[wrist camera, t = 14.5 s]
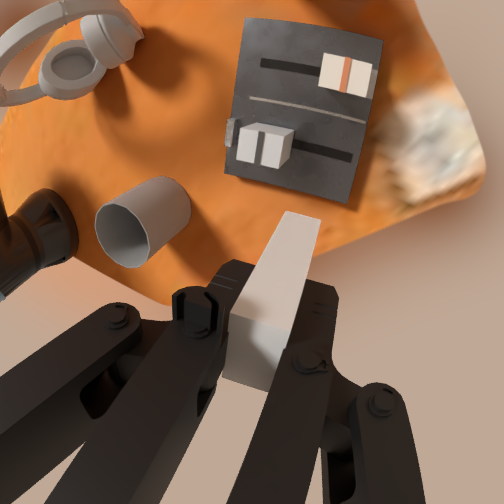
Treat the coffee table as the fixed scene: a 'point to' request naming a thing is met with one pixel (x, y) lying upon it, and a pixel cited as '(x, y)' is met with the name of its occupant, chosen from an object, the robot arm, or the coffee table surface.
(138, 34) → the headphones
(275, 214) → the coffee table surface
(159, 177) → the cup
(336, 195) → the console
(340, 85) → the block
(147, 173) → the coffee table surface
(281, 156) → the block
